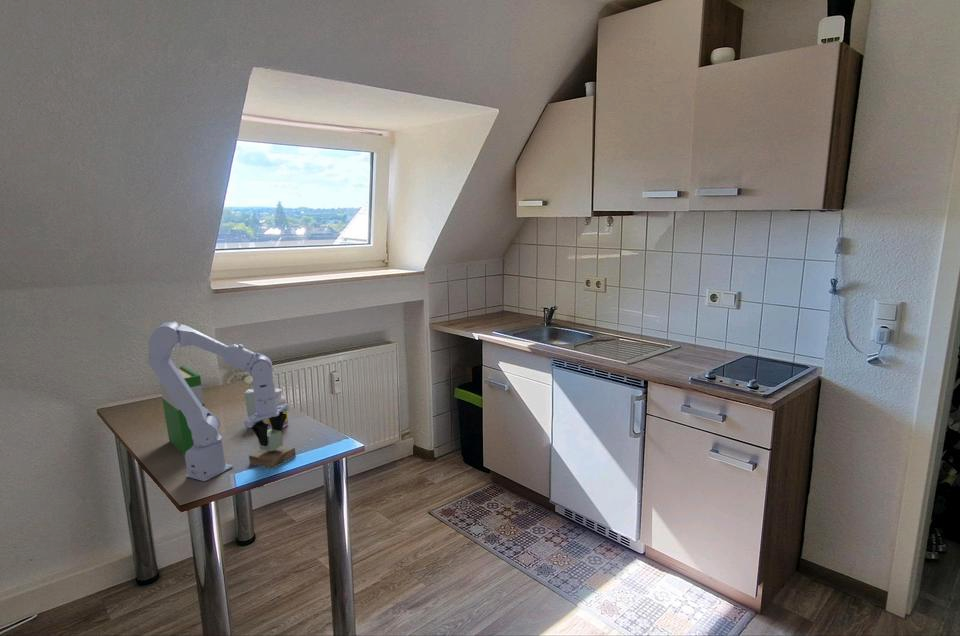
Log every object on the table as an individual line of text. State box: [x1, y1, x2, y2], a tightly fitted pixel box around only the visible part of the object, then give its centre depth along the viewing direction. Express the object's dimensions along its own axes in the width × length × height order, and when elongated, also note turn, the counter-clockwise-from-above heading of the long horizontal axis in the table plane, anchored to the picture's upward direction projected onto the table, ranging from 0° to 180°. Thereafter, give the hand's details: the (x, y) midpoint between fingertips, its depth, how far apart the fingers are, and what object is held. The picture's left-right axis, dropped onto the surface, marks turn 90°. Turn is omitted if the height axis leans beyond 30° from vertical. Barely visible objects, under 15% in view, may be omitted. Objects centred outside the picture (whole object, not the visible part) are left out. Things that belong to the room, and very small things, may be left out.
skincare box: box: [243, 388, 267, 424], centre depth 191 cm, size 6×4×12 cm
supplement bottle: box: [267, 387, 289, 430], centre depth 187 cm, size 7×7×13 cm
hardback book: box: [158, 365, 206, 457], centre depth 174 cm, size 18×7×24 cm, turn 43°
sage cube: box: [258, 428, 284, 451], centre depth 161 cm, size 4×4×4 cm
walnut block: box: [248, 444, 297, 469], centre depth 162 cm, size 9×9×3 cm
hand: (270, 441), depth 161 cm, fingers closed on sage cube, 4 cm apart
